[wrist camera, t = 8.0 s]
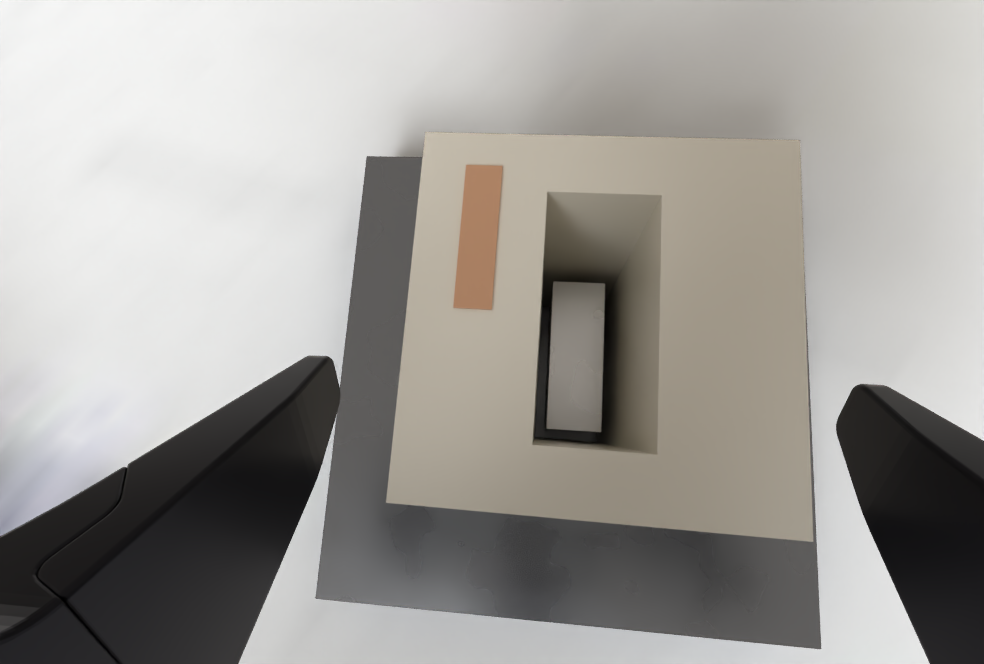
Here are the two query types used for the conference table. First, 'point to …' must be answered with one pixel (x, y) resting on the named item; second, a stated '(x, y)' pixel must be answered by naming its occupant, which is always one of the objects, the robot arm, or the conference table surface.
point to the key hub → (518, 538)
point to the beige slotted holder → (610, 331)
